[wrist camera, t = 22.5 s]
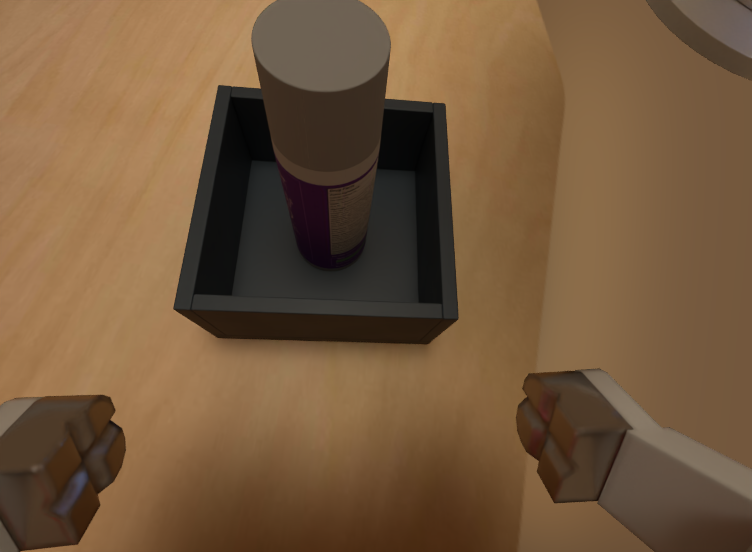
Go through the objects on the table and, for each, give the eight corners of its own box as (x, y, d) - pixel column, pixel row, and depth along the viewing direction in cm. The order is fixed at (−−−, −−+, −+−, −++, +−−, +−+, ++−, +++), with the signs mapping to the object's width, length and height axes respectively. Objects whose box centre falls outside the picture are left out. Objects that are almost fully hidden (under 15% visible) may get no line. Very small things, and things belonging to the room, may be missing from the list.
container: (282, 232, 26) (217, 20, 12) (338, 198, 27) (337, -30, 13) (323, 285, 25) (303, 118, 11) (379, 246, 26) (424, 54, 12)
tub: (422, 171, 30) (445, 102, 24) (428, 344, 25) (459, 319, 19) (245, 159, 29) (218, 84, 22) (217, 338, 24) (172, 309, 18)
